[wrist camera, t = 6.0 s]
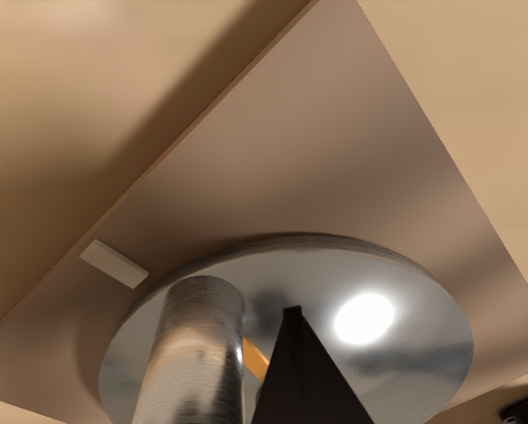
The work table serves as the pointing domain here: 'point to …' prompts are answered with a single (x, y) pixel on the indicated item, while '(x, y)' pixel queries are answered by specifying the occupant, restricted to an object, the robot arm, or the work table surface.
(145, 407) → the capstan dial
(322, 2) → the base plate
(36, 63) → the work table surface
